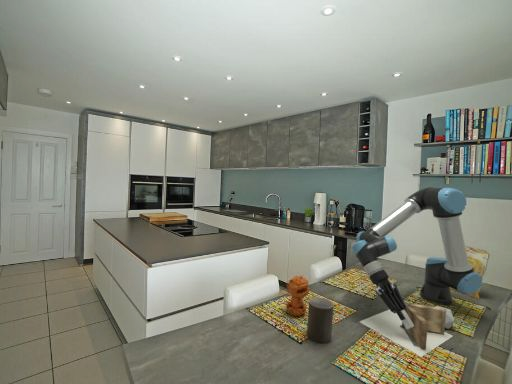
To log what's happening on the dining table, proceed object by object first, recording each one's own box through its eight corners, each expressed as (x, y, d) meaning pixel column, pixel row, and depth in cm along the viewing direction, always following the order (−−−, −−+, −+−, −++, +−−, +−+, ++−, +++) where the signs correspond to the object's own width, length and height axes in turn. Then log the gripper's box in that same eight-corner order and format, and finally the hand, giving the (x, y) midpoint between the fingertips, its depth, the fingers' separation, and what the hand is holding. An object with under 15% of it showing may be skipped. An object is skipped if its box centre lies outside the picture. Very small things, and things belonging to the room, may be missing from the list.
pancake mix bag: (450, 285, 167) (453, 242, 165) (485, 298, 149) (490, 250, 148) (443, 286, 164) (447, 243, 163) (479, 300, 147) (484, 251, 145)
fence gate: (403, 328, 112) (405, 305, 111) (408, 329, 111) (410, 306, 111) (421, 349, 98) (423, 323, 97) (426, 349, 98) (429, 323, 97)
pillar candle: (317, 345, 98) (320, 307, 97) (302, 331, 106) (304, 296, 106) (336, 339, 102) (339, 302, 102) (320, 326, 111) (322, 292, 110)
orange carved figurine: (308, 320, 115) (311, 281, 114) (284, 316, 117) (286, 278, 116) (308, 308, 126) (310, 272, 125) (286, 305, 128) (288, 269, 127)
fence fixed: (402, 328, 112) (404, 304, 112) (401, 325, 114) (402, 302, 114) (445, 335, 109) (447, 310, 108) (442, 332, 111) (444, 308, 110)
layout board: (392, 309, 130) (392, 308, 130) (453, 337, 108) (453, 335, 108) (358, 322, 116) (358, 321, 116) (421, 358, 94) (421, 356, 94)
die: (454, 327, 117) (442, 304, 122) (463, 327, 110) (449, 302, 115) (435, 332, 118) (423, 308, 124) (442, 331, 111) (429, 307, 116)
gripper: (378, 274, 123) (411, 326, 110) (361, 278, 116) (394, 334, 103) (390, 267, 118) (426, 320, 105) (373, 271, 111) (409, 329, 98)
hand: (410, 327), depth 104 cm, fingers closed
